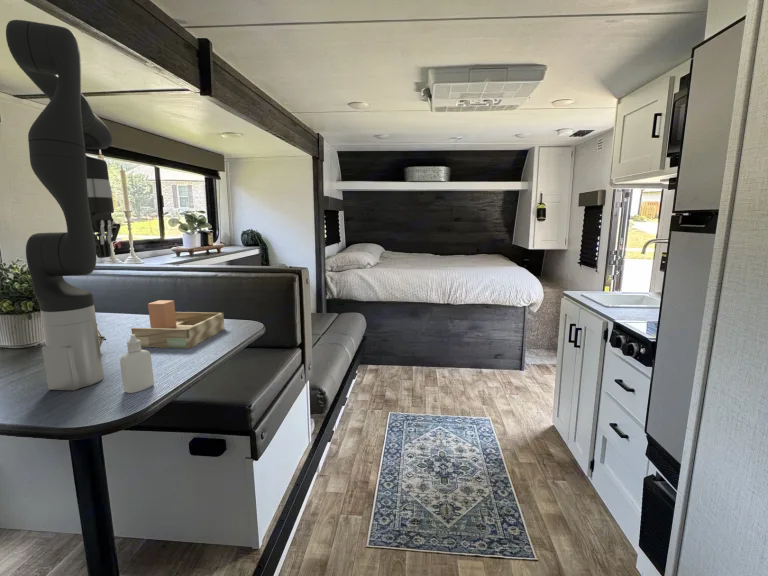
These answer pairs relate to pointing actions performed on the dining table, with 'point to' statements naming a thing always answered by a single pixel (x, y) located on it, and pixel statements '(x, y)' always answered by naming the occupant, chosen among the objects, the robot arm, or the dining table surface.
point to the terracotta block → (162, 314)
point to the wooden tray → (182, 330)
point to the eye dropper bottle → (136, 367)
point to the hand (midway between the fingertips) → (104, 257)
